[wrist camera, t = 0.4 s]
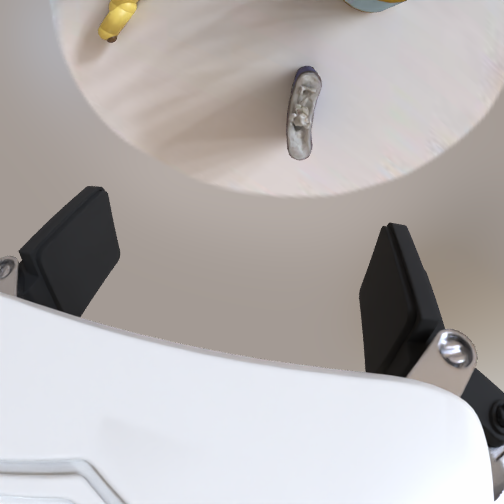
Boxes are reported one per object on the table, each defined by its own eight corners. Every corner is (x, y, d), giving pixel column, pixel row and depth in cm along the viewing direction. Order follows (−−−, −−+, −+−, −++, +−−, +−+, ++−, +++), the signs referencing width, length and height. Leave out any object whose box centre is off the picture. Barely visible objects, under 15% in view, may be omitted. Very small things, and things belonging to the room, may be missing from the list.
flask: (309, 138, 37) (309, 170, 29) (285, 134, 37) (278, 165, 29) (319, 67, 31) (324, 73, 23) (294, 63, 32) (289, 68, 23)
